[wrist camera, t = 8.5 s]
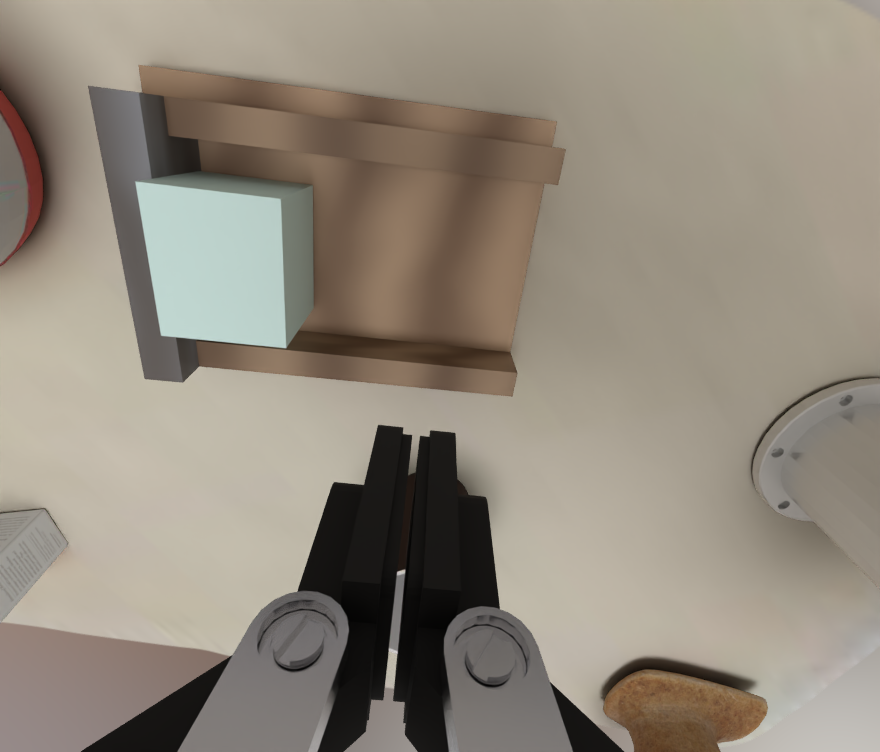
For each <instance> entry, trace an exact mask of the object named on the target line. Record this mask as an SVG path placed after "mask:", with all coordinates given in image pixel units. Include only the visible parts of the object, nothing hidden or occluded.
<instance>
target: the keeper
mask: <svg viewBox="0 0 880 752" xmlns="http://www.w3.org/2000/svg"><path fill="white" fill-rule="evenodd" d="M135 183H136V189H137V195H138V201H139V207H140V213H141V219H142V225H143V231H144V237H145V243H146V249H147V255H148V261H149V267H150V273H151V279H152V285H153V290H154V296H155V302H156V308H157V314H158V320H159V326H160V332H161V336H169V337H179V338H189V339H199V340H209V341H219V342H229V343H239V344H249V345H259V346H269V347H279V348H287V346H288V345H289V343H290V342H291V340H292V339H293V338H294V336H295V335H296V333H297V332H298V330H299V329H300V327H301V326H302V324H303V323H304V321H305V320H306V319H307V317H308V316H309V314H310V313H311V311H312V310H313V308H314V276H313V185H309V184H300V183H292V182H284V181H276V180H268V179H260V178H251V177H243V176H235V175H227V174H219V173H211V172H203V171H196V172H190V173H184V174H178V175H172V176H166V177H160V178H153V179H147V180H141V181H135Z"/></svg>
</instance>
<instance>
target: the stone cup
mask: <svg viewBox="0 0 880 752" xmlns="http://www.w3.org/2000/svg"><path fill="white" fill-rule="evenodd" d="M767 709H768V706H767V702H766V700H765V699H764V698H762V697H759V696H757V695H754V694H751V693H748V692H744V691H741V690H738V689H735V688H732V687H728V686H725V685H721V684H718V683H714V682H711V681H707V680H703V679H699V678H695V677H691V676H686V675H682V674H677V673H672V672H666V671H660V670H641V671H638V672H634V673H632V674H630V675H628V676H626V677H625V678H623V679H622V680H620V681H619V682H618V683H617V684H616V685H615V686H614V687H613V688H612V689H611V690H610V691H609V692H608V694H607V696H606V698H605V703H604V707H603V710H604V712H605V714H606V715H607V716H608V717H609V718H611V719H612V720H614V721H616V722H617V723H619V724H620V725H622V726H624V727H625V728H627V730H628V731H629V733H630V736H631V738H632V741H633V744H634V752H720V750H719V747H718V745H717V743H721V742H728V741H734V740H737V739H741V738H743V737H745V736H747V735H748V734H750V733H751V732H752V731H754V730H755V729H756V728H757V727H758V726H759V725H760V723H761V722H762V720H763V719H764V718H765V716H766V714H767Z"/></svg>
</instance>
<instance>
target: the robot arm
mask: <svg viewBox="0 0 880 752" xmlns="http://www.w3.org/2000/svg"><path fill="white" fill-rule="evenodd" d="M411 442H412V435H406V434H403V427H393V426H383V425H378V428H377V432H376V436H375V441H374V445H373V449H372V454H371V458H370V462H369V466H368V471H367V475H366V479H365V484H364V485H358V484H348V483H337V482H334V483H333V485H332V487H331V490H330V493H329V496H328V499H327V502H326V505H325V508H324V512H323V515H322V518H321V521H320V524H319V527H318V530H317V533H316V536H315V539H314V542H313V545H312V548H311V551H310V555H309V558H308V561H307V564H306V567H305V570H304V573H303V576H302V579H301V582H300V585H299V588H298V591H297V592H294V593H289V594H286V595H284V596H282V597H280V598H277V599H275V600H273V601H272V602H271V603H270V604H268V605H267V606H266V607H264V608H263V609H262V610H261V611H260V612H259V613H258V615H257V616H256V617H255V619H254V620H253V621H252V623H251V624H250V626H249V628H248V630H247V631H246V633H245V635H244V637H243V638H242V640H241V642H240V643H239V645H238V647H237V649H236V650H235V652H234V654H233V655H232V656H230V657H229V658H227V659H226V660H224V661H222V662H221V663H220V664H218V665H216V666H215V667H213V668H211V669H210V670H208V671H207V672H206V673H204V674H202V675H200V676H199V677H197V678H196V679H194V680H193V681H191V682H189V683H188V684H186V685H185V686H183V687H182V688H180V689H178V690H177V691H175V692H174V693H172V694H171V695H169V696H167V697H166V698H164V699H163V700H161V701H160V702H158V703H157V704H155V705H153V706H152V707H150V708H149V709H147V710H145V711H144V712H142V713H141V714H139V715H138V716H136V717H134V718H133V719H131V720H130V721H128V722H127V723H125V724H123V725H122V726H120V727H119V728H117V729H115V730H114V731H112V732H111V733H109V734H108V735H106V736H104V737H103V738H101V739H100V740H98V741H96V742H95V743H93V744H92V745H90V746H89V747H87V748H85V749H84V750H83V751H81V752H344V751H345V750H346V749H347V748H348V747H349V746H350V745H352V744H353V743H354V742H355V741H356V740H357V739H358V738H359V737H360V736H361V735H362V734H363V733H364V732H366V725H367V720H369V713H370V705H371V699H372V700H383V697H384V688H385V679H386V670H387V661H388V652H389V643H390V634H391V625H392V616H393V607H394V598H395V589H396V579H397V570H398V561H399V552H400V543H401V534H402V525H403V516H404V506H405V497H406V488H407V479H408V469H409V460H410V451H411ZM752 475H753V481H754V485H755V487H756V489H757V491H758V494H759V495H760V496H761V497H762V498H763V499H764V501H765V502H766V503H767V504H768V505H769V506H770V507H771V508H772V509H773V510H774V511H776V512H778V513H780V514H782V515H784V516H786V517H788V518H792V519H796V520H800V521H811V522H815V523H816V524H817V525H818V526H819V527H820V528H821V530H822V531H823V532H824V533H825V534H826V535H827V536H828V537H829V538H830V539H831V540H832V541H833V542H834V543H835V544H836V545H837V546H838V547H839V548H840V549H841V550H842V551H843V552H844V553H845V554H846V555H847V556H848V557H849V558H850V559H851V560H852V561H853V562H854V563H855V564H856V565H857V566H858V567H859V568H860V569H861V570H862V572H863V573H864V574H865V575H866V576H867V577H868V578H869V579H870V580H871V581H872V582H873V583H874V584H875V585H876V586H877V587H878V588H879V589H880V379H879V378H872V379H858V380H854V381H849V382H845V383H840V384H838V385H835V386H832V387H829V388H827V389H824V390H821V391H820V392H818V393H816V394H814V395H812V396H810V397H808V398H806V399H804V400H803V401H801V402H800V403H799V404H797V405H796V406H794V407H793V408H791V409H790V410H789V411H788V412H786V413H785V414H784V415H783V416H782V417H781V418H780V419H779V420H778V421H777V422H776V423H775V424H774V425H773V426H772V428H771V429H770V430H769V431H768V432H767V434H766V435H765V437H764V438H763V440H762V442H761V444H760V445H759V447H758V449H757V452H756V455H755V458H754V461H753V470H752ZM393 701H398V702H405V708H404V721H403V722H404V723H406V725H405V735H406V737H407V738H408V739H409V741H410V742H411V743H412V745H413V746H414V747H415V749H416V750H417V751H418V752H624V751H623V750H622V749H621V748H620V747H619V746H618V745H617V744H615V743H614V742H613V741H612V740H611V739H610V738H609V737H608V736H607V735H606V734H605V733H604V732H603V731H602V730H600V729H599V728H598V727H597V726H596V725H595V724H594V723H593V722H592V721H591V720H590V719H589V718H588V717H587V716H586V715H585V714H584V713H583V712H581V711H580V710H579V709H578V708H577V707H576V706H575V705H574V704H573V703H572V702H571V701H570V700H569V699H568V698H567V697H565V696H564V695H563V694H562V693H561V692H560V691H559V690H558V689H557V688H556V687H555V686H554V685H553V684H552V683H551V682H550V681H549V678H548V675H547V672H546V669H545V666H544V663H543V660H542V657H541V654H540V651H539V648H538V645H537V643H536V641H535V639H534V637H533V635H532V633H531V632H530V631H529V630H528V629H527V627H526V626H525V625H524V624H523V623H522V622H521V621H520V620H519V619H517V618H516V617H514V616H513V615H511V614H510V613H508V612H506V611H503V610H500V606H499V597H498V589H497V580H496V572H495V563H494V554H493V546H492V537H491V529H490V520H489V511H488V504H487V499H486V497H481V496H470V495H460V494H458V491H457V463H456V436H455V433H451V432H441V431H432V430H431V431H430V437H425V436H420V441H419V450H418V458H417V467H416V475H415V484H414V492H413V501H412V509H411V518H410V526H409V535H408V545H407V556H406V567H405V578H404V589H403V599H402V610H401V621H400V632H399V643H398V654H397V664H396V675H395V686H394V697H393Z"/></svg>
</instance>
